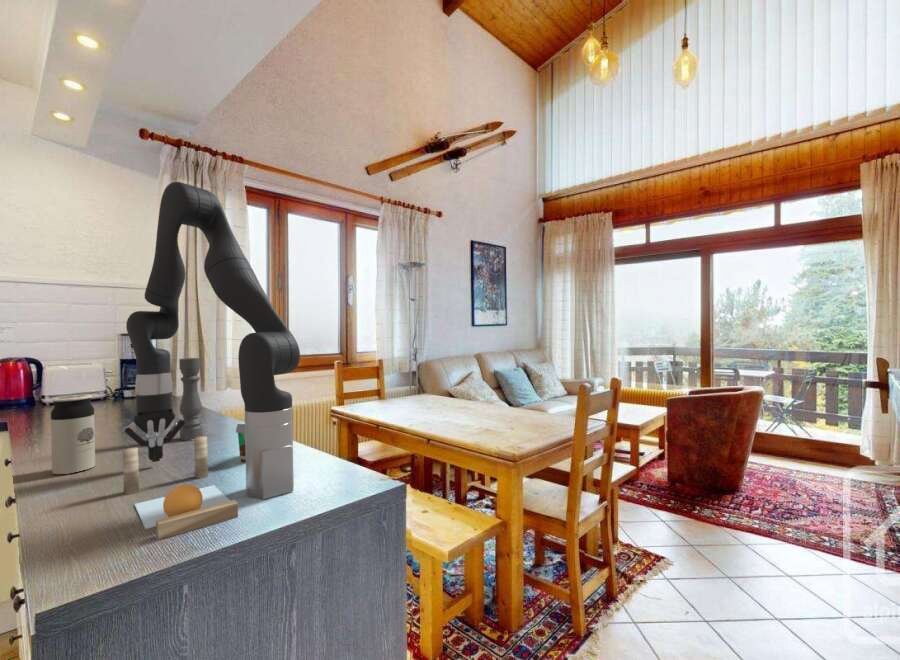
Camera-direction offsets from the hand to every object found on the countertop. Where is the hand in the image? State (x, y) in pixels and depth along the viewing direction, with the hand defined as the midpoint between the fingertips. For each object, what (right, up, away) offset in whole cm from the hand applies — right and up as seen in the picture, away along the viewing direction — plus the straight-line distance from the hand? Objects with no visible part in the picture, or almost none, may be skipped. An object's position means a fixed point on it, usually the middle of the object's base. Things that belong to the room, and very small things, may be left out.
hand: (155, 460), depth 106 cm
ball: (+25, +2, -29) cm, 39 cm away
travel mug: (-19, -2, -1) cm, 19 cm away
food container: (+24, -1, +7) cm, 25 cm away
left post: (+6, -2, -16) cm, 17 cm away
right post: (+16, -1, -7) cm, 17 cm away
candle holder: (-8, -2, +28) cm, 29 cm away
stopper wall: (+30, -1, -32) cm, 44 cm away
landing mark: (+22, -1, -24) cm, 32 cm away
